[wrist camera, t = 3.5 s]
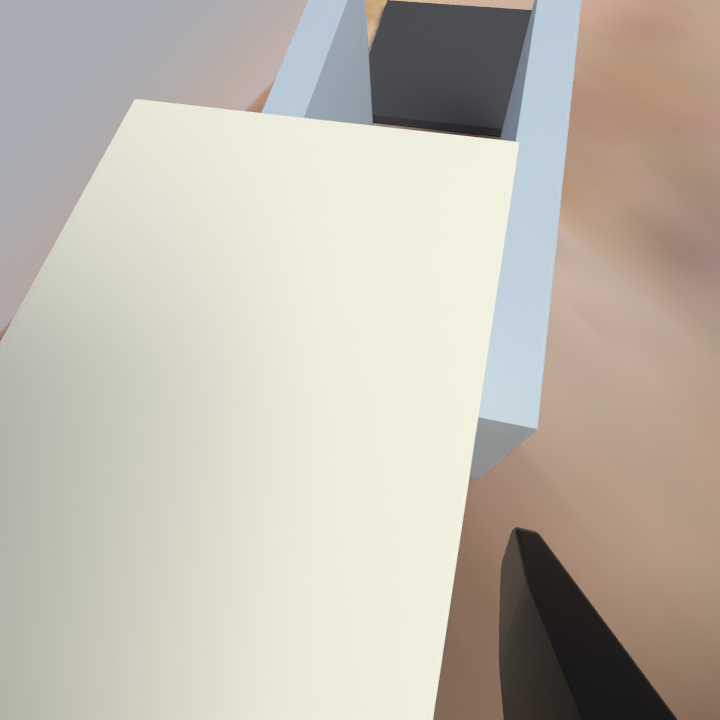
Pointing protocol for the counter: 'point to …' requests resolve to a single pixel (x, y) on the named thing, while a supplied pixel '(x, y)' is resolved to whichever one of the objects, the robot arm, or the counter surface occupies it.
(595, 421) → the counter surface
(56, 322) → the block
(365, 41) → the channel
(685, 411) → the counter surface
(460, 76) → the mat
